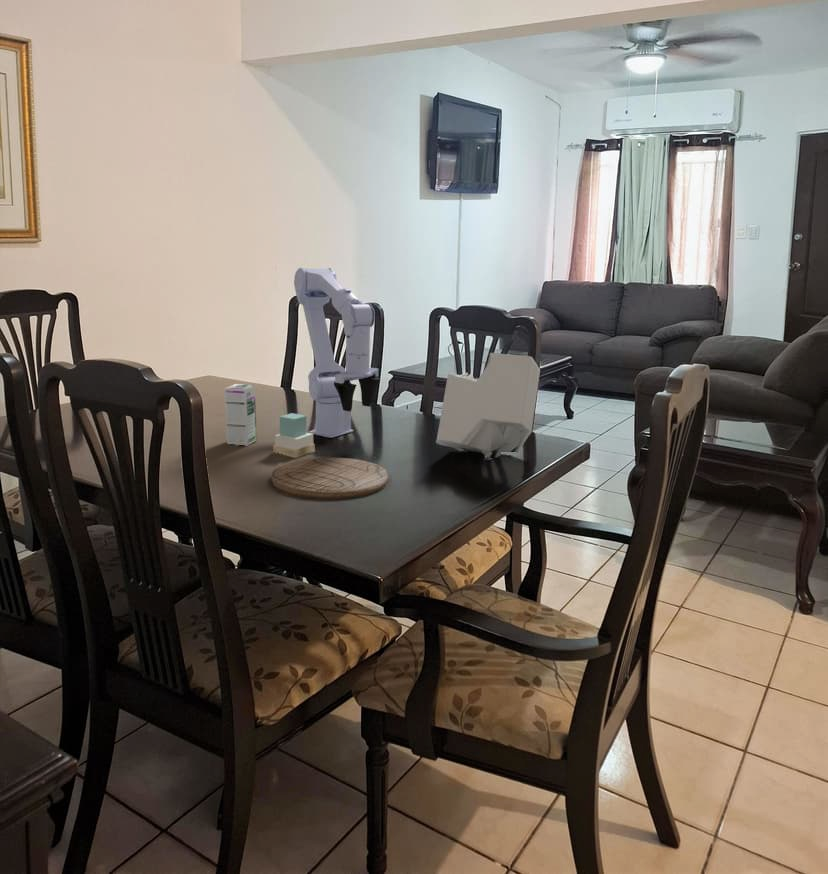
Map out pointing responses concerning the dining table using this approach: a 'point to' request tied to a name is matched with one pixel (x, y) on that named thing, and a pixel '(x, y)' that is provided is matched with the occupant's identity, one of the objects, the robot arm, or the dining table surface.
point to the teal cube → (293, 425)
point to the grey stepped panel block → (490, 406)
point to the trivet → (329, 478)
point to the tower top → (294, 441)
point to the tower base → (294, 450)
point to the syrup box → (240, 414)
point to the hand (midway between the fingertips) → (356, 408)
